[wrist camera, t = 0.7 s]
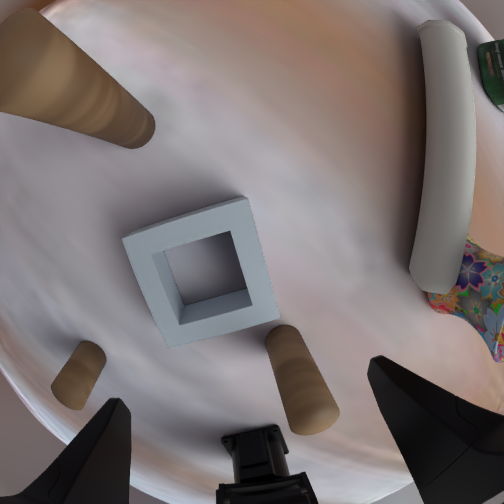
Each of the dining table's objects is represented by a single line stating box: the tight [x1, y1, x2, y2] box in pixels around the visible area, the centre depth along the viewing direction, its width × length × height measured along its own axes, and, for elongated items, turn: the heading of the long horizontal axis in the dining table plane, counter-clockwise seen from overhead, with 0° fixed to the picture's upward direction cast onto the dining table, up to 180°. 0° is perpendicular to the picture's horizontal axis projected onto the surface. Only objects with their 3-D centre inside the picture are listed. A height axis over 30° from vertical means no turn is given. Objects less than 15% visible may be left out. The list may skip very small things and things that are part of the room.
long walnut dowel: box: [0, 8, 155, 149], centre depth 9 cm, size 3×3×14 cm
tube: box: [409, 20, 476, 295], centre depth 17 cm, size 5×5×25 cm
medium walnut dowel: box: [265, 325, 340, 435], centre depth 17 cm, size 3×3×9 cm
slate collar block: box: [122, 196, 280, 348], centre depth 18 cm, size 8×8×3 cm
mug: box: [428, 235, 504, 363], centre depth 17 cm, size 12×9×11 cm
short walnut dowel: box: [51, 341, 106, 410], centre depth 17 cm, size 3×3×6 cm
